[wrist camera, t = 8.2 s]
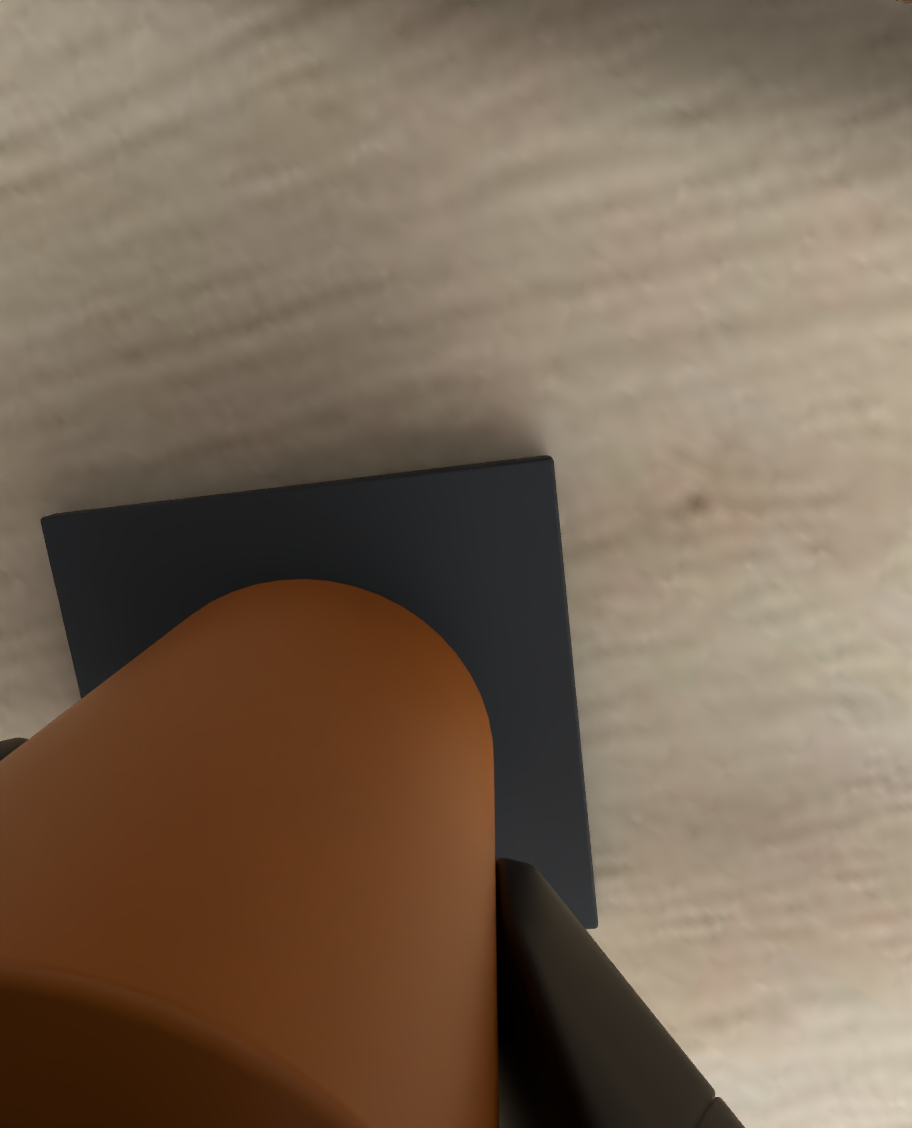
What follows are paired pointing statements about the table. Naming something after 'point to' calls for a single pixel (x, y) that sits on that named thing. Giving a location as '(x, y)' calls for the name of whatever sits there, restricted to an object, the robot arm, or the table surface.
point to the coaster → (392, 570)
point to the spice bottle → (256, 881)
